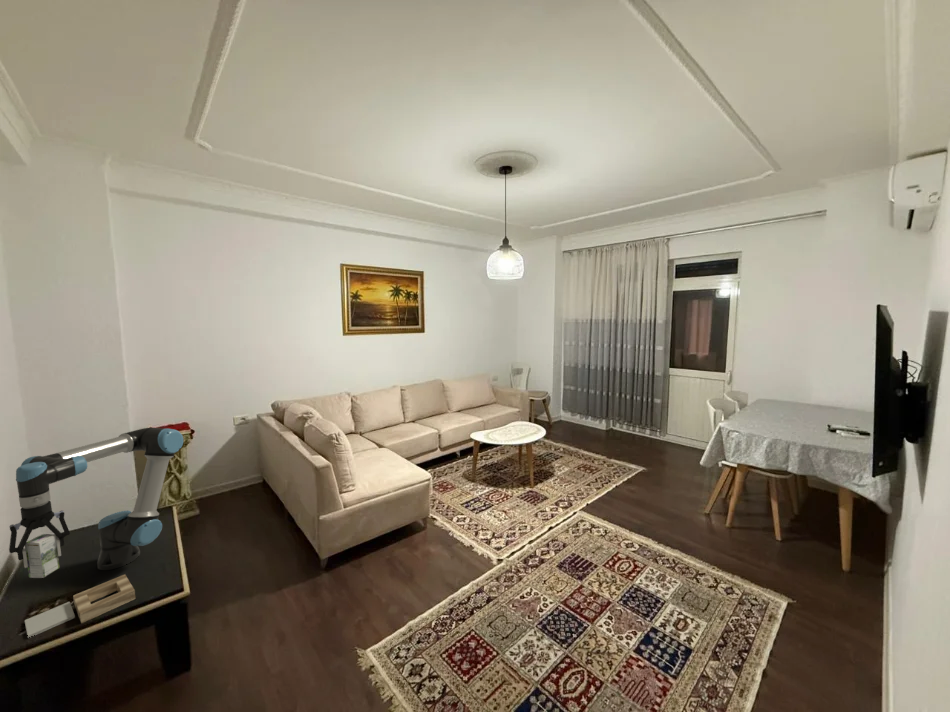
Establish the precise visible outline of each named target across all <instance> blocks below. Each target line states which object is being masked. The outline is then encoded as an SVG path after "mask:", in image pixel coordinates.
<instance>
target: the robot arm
mask: <svg viewBox="0 0 950 712" xmlns="http://www.w3.org/2000/svg"><path fill="white" fill-rule="evenodd" d="M183 445H184V436H183V434H182V433H181V432H180V431H179V430H177V429H173V428H162V427H144V428H139V429H136V430H132V431H128V432H124V433H121V434H119V435H118V436H116V437H113V438H109V439H106V440H102V441H97V442H94V443H90V444H86V445H82V446H79V447H74V448H71V449H67V450H64V451H58V452H56V453H55V452H54V453H51V454H47V455H43V456H42V455H35V456H33V455H32V456H29V457H28V458H25V460H23V461H22V462H21V464H20V466H18V468H16V470H15V481H16V485H17V492H18V493H17V494H18V501H19V507H20V515H21V520H20V522H18V523H15V524H10V525H9V530H10V532H11V533H10V540H9V547H8V550H9V554H14V553H17V559H18V560H19V561H21V560H23V566H24V569H26V568H27V569H28V564H27V556H26V550H25V544H26V542H28V541H29V540H28V539H29V537H30V535H31V534H32V533H33V532H32V531H34V530H36V529H40V528H43V527H47V528H48V529H49V530H50V531H51V532H52V533H53V535H56V542H57V550H58V557H61V556H62V551H61V550H62V549H61V547H64V545H65V540H64V539H65V537H66V536H69V535H70V534H71V532H70V530H69V528H68V525H67V523H66V520H65V511H64V510H60V511H56V512H54V511H53V508H52V502H51V493H50V485H51V484H54V483H57V482H60V481H63V480H66V479H69V478H72V477H76V476H77V475H80V474H83V473H84V472H86V471H87V469H88V463H90V462H93V461H96V460H99V459H103V458H107V457H110V456H114V455H117V454H121V453H124V454H128V453H131V452H136V451H137V452H139V451H143V452H144V457H145V458H146V462H145V467H144V471H143V474H142V477H141V478H142V479H141V481H140V484H139V490H138V492H137V497H136V500H135V503H134V507H133V511H132V512H131V510H121V511H117V512H114V513H111V514H108V515H107V516H105V517H102V518H100V519H99V521H98V525H97V526H98V527H97V529H98V534H99V545H100V552H99V555H98V559H97V562H96V564H97V570H99V571H109V570H115V569H119V568H122V567H124V566H127V565H128V564H131V563H133V562H134V561H135V560H137V559H138V558H139V557H140V555H141V550H140V547H143V546H147V545H150V544H151V543H153V542H154V541H155V540H156V539H157V538H158V537H159V536H160V534H161V532H162V529H163V523H162V521H161V520H159V517H160V512H158V510H157V509H158V506H159V502H160V499H161V495H162V490H163V486H164V482H165V478H166V473H167V469H168V466H169V461H170V460H171V459H172V458H174V457H175V454H176V453H177V452H179V451H180V449H181V448H182V447H183ZM54 517H56V519H58V520H59V522H60V525H61V528H62V529H63V532H61V531H59V529H58V528H56V526H55V525H54V524H53V523H52V522H51V521H52V519H53V518H54ZM21 526H22V527H24V528H25V530H24V532H23V535H22V537H21V539H20V541H19V542H18V543H19V544H18V546H17V547H16V544H17V535H18V532H17V531H18V530H20V527H21ZM139 546H140V547H139ZM138 556H139V557H138ZM137 557H138V558H137ZM136 558H137V559H136ZM130 562H131V563H130ZM126 564H127V565H126Z"/></svg>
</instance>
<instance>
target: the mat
mask: <svg viewBox="0 0 950 712" xmlns="http://www.w3.org/2000/svg"><path fill="white" fill-rule="evenodd" d="M73 619H76V615H75V613H74V610H73V608H72V604H71V602H70V601H67V602H65V603H63V604H59V605H57V606H55V607H53V608H51V609H48V610H46V611H44V612H41V613H38V614H37V615H36V614H35V615H34V616H31V617H30V618H27V619H25V620H24V624H25V629H26V635H28V636H27V638H28V639H30V638H32V637H31V636H33V637H35V636H36V635H39V634H41V633H44V632H46V631H48V630H50V629H53V628H54V627H57V626H60V625H62V624H64V623H66V622H68V621H71V620H73ZM34 635H35V636H34ZM29 637H30V638H29Z"/></svg>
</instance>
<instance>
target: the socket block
mask: <svg viewBox="0 0 950 712" xmlns="http://www.w3.org/2000/svg"><path fill="white" fill-rule="evenodd" d="M115 592H116V593H115ZM112 593H114V594H112ZM110 594H112V595H110ZM108 595H110V596H108ZM106 596H107V597H106ZM104 597H105V598H104ZM72 598H73V599H72V600H73V605H74V607H75V611H76V613H77V616H78V619H79V621H80V624H83V623H86V622H87V621H90V620H92V619H94V618H97V617H99V616H101V615H103V614H105V613H108V612H110V611H113V610H114V609H117V608H119V607H121V606H123V605H125V604H127V603H129V602H131V601H134V600H135V599H136V590H135V588H134V586H133V585H132V584H131V582H130V580H129V578H128V577H127V575H126V574H121V575H120V576H118V577H115V578H112V579H110V580H108V581H105V582H103V583H101V584H97V585H95V586H93V587H91V588H88V589H86V590H83V591H81V592H79V593H76V594H74V595H73V596H72ZM101 598H103V599H101ZM98 599H100V600H98ZM97 600H98V601H97ZM94 601H96V602H94ZM92 602H93V603H92Z"/></svg>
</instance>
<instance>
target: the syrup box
mask: <svg viewBox="0 0 950 712" xmlns="http://www.w3.org/2000/svg"><path fill="white" fill-rule="evenodd" d="M56 538H57V536H56V535H55V534H54V533H53V534H51V533H50V534H49V533H43V534H39V535H37V536H35V537H33V538H32V539H29V540H27V542H26V544H25V546H24V548H25V550H26V556H27V564H28V567H27V573H28V578H30V579H32V578H33V579H42V578H43V579H44V578H46V577H47V576H49V575H51V574H52V573H54V572H55V571H57V570H58V569H60V560H59V556H58V550H57V542H56Z"/></svg>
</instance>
